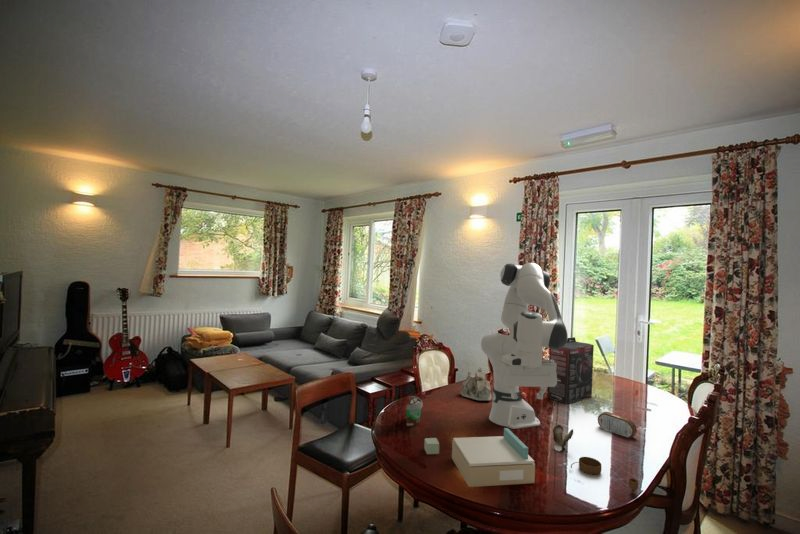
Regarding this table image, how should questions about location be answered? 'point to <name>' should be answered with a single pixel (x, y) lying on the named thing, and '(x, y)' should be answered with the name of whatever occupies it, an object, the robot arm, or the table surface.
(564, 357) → the headset box
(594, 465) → the place setting
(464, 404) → the table surface
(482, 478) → the box
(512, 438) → the lid
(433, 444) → the cube
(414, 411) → the food container
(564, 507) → the table surface
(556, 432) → the eagle figurine
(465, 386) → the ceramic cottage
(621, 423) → the tin
